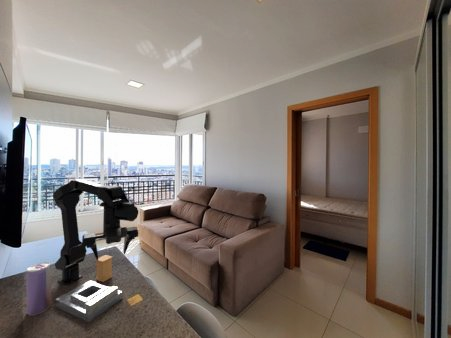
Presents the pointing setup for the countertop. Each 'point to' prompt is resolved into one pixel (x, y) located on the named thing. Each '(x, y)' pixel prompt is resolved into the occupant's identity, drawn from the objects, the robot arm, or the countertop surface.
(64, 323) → the countertop surface
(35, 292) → the beverage can
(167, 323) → the countertop surface
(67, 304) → the grey socket base
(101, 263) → the wedge pin
